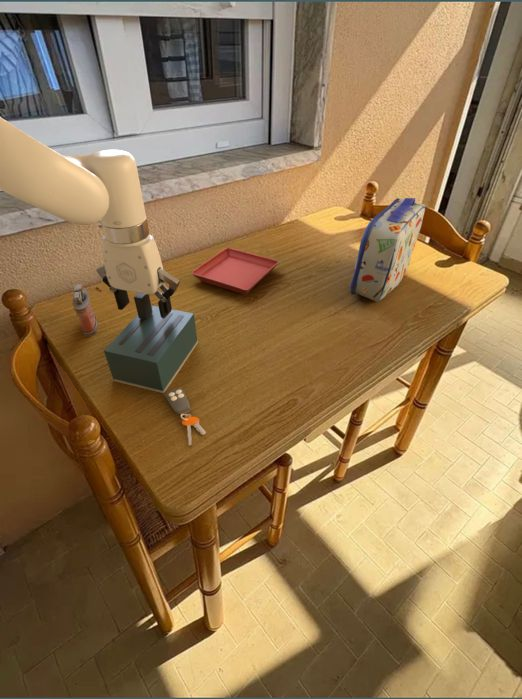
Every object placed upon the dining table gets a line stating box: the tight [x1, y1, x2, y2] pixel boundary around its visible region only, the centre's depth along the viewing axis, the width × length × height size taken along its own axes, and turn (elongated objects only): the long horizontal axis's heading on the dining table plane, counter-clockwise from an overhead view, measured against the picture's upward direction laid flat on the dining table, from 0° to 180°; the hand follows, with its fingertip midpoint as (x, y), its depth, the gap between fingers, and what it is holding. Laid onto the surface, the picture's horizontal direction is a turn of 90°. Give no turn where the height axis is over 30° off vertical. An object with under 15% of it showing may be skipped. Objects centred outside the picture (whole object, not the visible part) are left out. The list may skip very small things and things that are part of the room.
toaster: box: [103, 304, 199, 395], centre depth 78 cm, size 11×16×8 cm
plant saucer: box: [191, 247, 280, 295], centre depth 106 cm, size 18×18×3 cm
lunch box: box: [349, 197, 426, 303], centre depth 98 cm, size 28×10×22 cm, turn 148°
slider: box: [133, 293, 153, 320], centre depth 77 cm, size 2×3×5 cm
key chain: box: [165, 387, 207, 447], centre depth 69 cm, size 13×4×2 cm, turn 30°
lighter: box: [72, 283, 99, 337], centre depth 86 cm, size 8×3×10 cm, turn 17°
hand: (145, 310), depth 78 cm, fingers open, 9 cm apart
